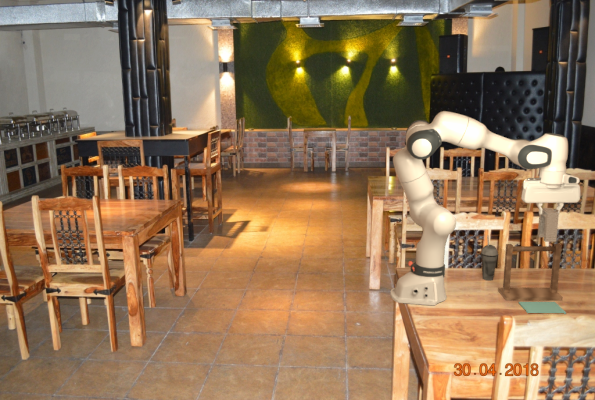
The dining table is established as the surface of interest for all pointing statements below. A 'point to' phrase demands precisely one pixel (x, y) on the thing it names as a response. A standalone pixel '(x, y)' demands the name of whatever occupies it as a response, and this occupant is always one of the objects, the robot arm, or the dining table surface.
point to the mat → (542, 307)
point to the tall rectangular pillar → (548, 225)
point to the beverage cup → (488, 261)
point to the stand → (531, 293)
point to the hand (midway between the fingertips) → (549, 214)
